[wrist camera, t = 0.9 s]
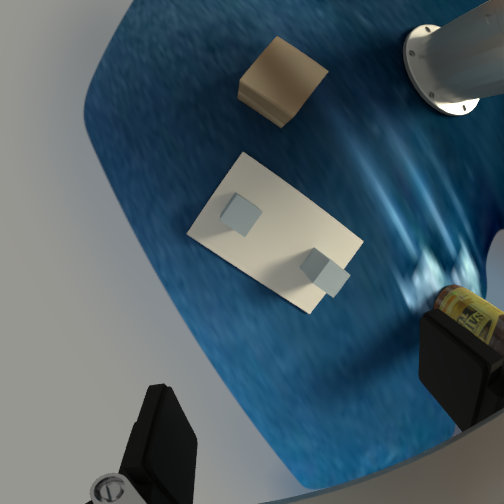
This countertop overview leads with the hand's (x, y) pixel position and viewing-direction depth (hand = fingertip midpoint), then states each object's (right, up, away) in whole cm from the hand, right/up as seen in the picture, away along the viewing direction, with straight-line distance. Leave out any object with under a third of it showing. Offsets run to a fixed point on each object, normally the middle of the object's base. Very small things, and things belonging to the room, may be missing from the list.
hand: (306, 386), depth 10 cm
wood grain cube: (0, +21, +19) cm, 28 cm away
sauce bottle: (+25, -2, +27) cm, 37 cm away
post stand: (+1, +6, +23) cm, 24 cm away
